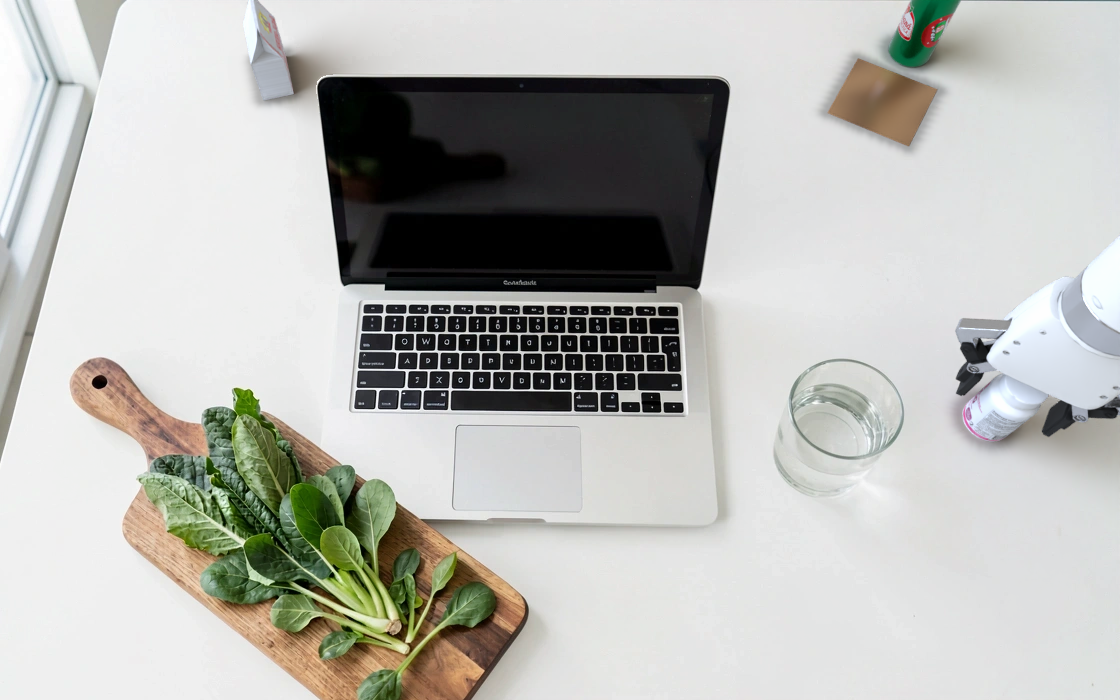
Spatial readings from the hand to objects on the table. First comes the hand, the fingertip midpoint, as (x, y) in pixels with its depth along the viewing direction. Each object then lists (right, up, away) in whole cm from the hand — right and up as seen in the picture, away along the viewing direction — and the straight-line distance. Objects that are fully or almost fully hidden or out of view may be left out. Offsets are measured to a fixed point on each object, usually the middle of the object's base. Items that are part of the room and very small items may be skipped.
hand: (1006, 402), depth 85 cm
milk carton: (-76, +39, +24) cm, 88 cm away
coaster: (-3, +35, +22) cm, 41 cm away
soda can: (+2, +42, +25) cm, 49 cm away
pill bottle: (0, -2, +4) cm, 4 cm away
